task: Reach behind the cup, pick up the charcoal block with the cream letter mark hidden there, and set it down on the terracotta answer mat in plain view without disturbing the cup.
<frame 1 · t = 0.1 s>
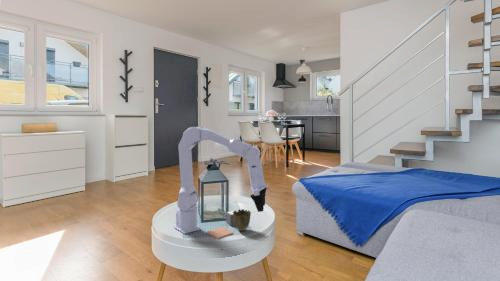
hand: (261, 208, 116), 10 cm above the table, tool pointing down, fingers open, 7 cm apart
answer mat: (219, 233, 116), on the table
cup: (242, 230, 120), on the table
letter block: (233, 223, 128), on the table
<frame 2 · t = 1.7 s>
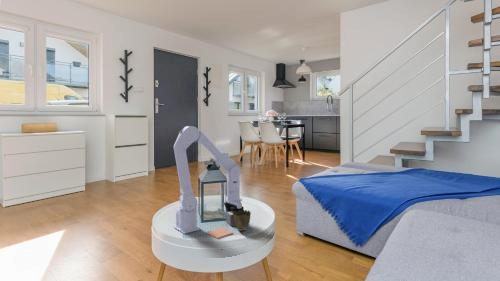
hand: (233, 219, 128), 2 cm above the table, tool pointing down, fingers open, 6 cm apart
cup: (242, 230, 120), on the table, touching gripper
everything else where it was.
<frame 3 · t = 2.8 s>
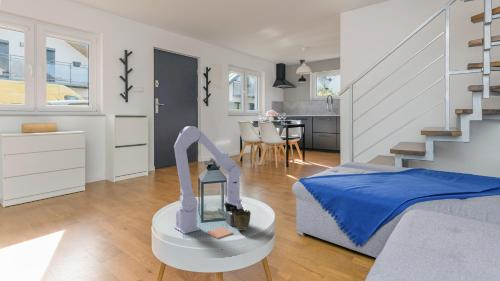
hand: (233, 220, 128), 1 cm above the table, tool pointing down, fingers closed on letter block, 5 cm apart
cup: (241, 230, 120), on the table
letter block: (233, 223, 128), on the table, touching gripper
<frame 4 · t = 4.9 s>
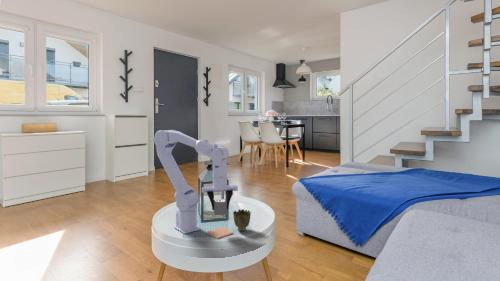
hand: (220, 208, 116), 10 cm above the table, tool pointing down, fingers closed on letter block, 5 cm apart
letter block: (220, 212, 116), point 9 cm above the table, touching gripper
everything else where it was.
when the fingers open (3 cm above the table, at t = 7.0 s): letter block drops 1 cm, resting on answer mat.
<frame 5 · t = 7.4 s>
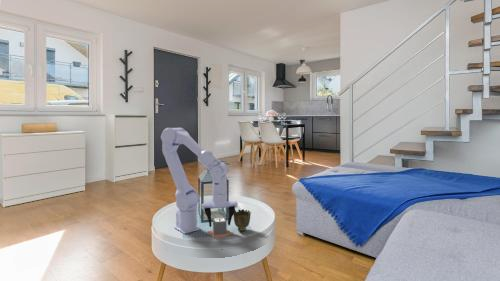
hand: (219, 225, 116), 3 cm above the table, tool pointing down, fingers open, 7 cm apart
letter block: (219, 231, 117), resting on answer mat
everything else where it was.
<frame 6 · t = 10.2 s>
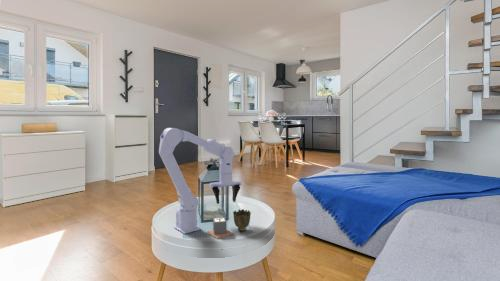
hand: (226, 202, 128), 9 cm above the table, tool pointing down, fingers open, 7 cm apart
nothing on the table moved.
at the end: letter block 0.4 cm off-centre on the answer mat, point 0.5 cm above the answer mat's base; letter block tilted 0°; cup moved 0.2 cm from its start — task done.
